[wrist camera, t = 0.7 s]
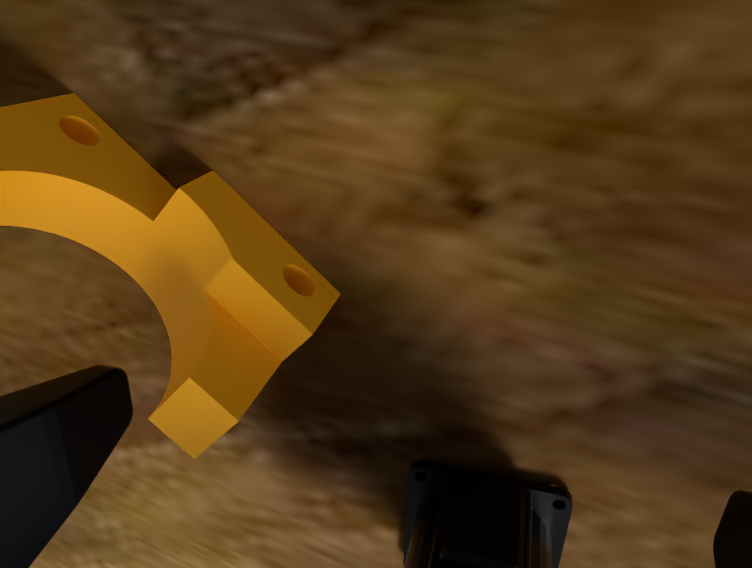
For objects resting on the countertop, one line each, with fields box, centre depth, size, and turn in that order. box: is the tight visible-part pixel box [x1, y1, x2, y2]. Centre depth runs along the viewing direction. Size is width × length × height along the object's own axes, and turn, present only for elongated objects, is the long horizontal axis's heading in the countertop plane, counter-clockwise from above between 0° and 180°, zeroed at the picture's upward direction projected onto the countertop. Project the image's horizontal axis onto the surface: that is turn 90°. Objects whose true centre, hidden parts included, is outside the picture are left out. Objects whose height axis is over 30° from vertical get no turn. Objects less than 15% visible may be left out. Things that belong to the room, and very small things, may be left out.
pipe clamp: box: [0, 93, 341, 459], centre depth 19 cm, size 12×4×6 cm, turn 47°
